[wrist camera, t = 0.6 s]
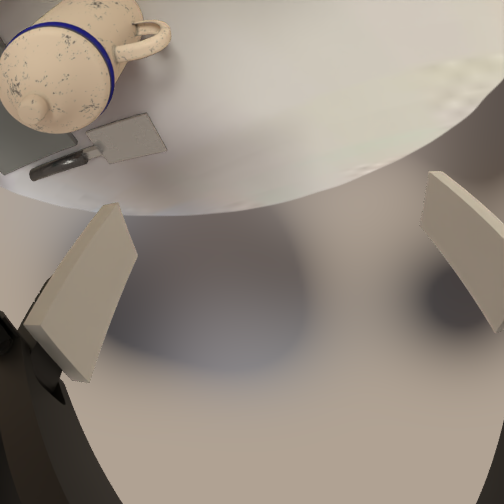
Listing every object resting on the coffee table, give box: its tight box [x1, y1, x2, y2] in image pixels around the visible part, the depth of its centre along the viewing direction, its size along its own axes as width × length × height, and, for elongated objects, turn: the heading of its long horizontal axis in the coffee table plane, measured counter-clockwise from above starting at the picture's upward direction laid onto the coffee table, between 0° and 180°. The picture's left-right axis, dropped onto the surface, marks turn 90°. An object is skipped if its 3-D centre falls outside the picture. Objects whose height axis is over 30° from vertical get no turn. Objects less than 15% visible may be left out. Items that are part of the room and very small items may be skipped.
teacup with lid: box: [0, 0, 171, 134], centre depth 14 cm, size 12×9×12 cm
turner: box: [29, 113, 167, 181], centre depth 30 cm, size 20×6×2 cm, turn 98°
